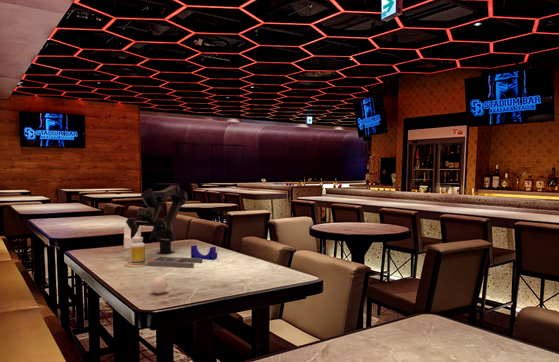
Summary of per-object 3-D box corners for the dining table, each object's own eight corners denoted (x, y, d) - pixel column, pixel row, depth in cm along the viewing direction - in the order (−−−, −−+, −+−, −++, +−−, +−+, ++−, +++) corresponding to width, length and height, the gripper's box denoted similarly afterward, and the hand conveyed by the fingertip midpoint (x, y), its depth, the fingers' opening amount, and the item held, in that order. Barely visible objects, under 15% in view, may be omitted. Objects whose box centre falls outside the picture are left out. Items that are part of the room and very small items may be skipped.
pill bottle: (146, 264, 178) (146, 238, 178) (130, 265, 175) (130, 239, 175) (144, 261, 184) (144, 236, 184) (129, 262, 181) (129, 237, 181)
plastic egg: (167, 295, 133) (167, 278, 133) (150, 296, 132) (150, 279, 132) (167, 288, 141) (167, 273, 141) (150, 290, 139) (150, 274, 139)
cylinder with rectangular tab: (120, 248, 220) (120, 226, 220) (129, 245, 229) (129, 224, 229) (135, 248, 219) (135, 226, 219) (143, 246, 228) (143, 225, 228)
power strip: (160, 260, 188) (160, 255, 188) (202, 262, 185) (202, 257, 185) (147, 265, 177) (147, 260, 177) (192, 267, 173) (192, 262, 173)
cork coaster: (132, 261, 186) (132, 260, 186) (154, 262, 184) (154, 261, 184) (119, 266, 175) (119, 265, 175) (142, 267, 173) (142, 266, 173)
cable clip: (217, 258, 194) (217, 246, 194) (212, 260, 190) (212, 247, 190) (195, 256, 198) (195, 244, 198) (190, 258, 194) (190, 246, 194)
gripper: (127, 201, 189) (114, 227, 178) (164, 201, 186) (153, 228, 175) (136, 215, 197) (124, 242, 186) (172, 216, 193) (161, 243, 183)
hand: (140, 238), depth 182 cm, fingers open, 9 cm apart
